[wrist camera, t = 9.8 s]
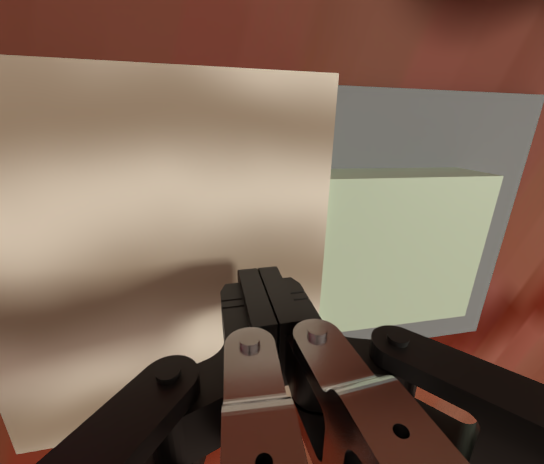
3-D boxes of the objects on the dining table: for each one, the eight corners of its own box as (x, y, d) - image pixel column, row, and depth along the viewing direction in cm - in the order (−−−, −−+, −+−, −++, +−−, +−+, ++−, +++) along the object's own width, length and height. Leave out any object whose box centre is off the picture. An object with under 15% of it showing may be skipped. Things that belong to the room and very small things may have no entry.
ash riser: (-36, 69, 12) (-142, 46, 8) (304, 85, 15) (339, 73, 11) (56, 383, 17) (16, 454, 14) (291, 350, 20) (311, 401, 16)
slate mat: (304, 85, 15) (309, 84, 14) (535, 95, 18) (545, 95, 17) (291, 350, 20) (294, 356, 20) (469, 325, 23) (475, 330, 22)
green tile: (306, 168, 16) (329, 179, 13) (456, 167, 17) (503, 175, 15) (298, 303, 18) (316, 335, 16) (428, 289, 20) (464, 316, 17)
